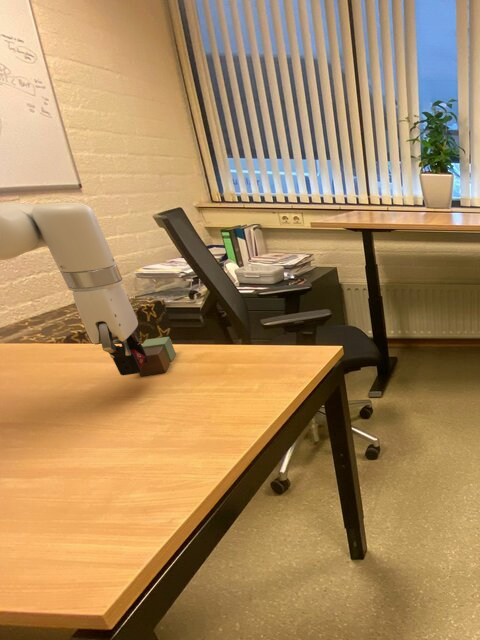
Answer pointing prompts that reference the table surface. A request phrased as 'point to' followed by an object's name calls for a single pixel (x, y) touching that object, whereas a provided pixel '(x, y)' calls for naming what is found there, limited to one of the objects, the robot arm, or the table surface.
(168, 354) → the sage block
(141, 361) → the dice
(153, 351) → the walnut block
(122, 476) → the table surface
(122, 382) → the table surface
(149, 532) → the table surface
